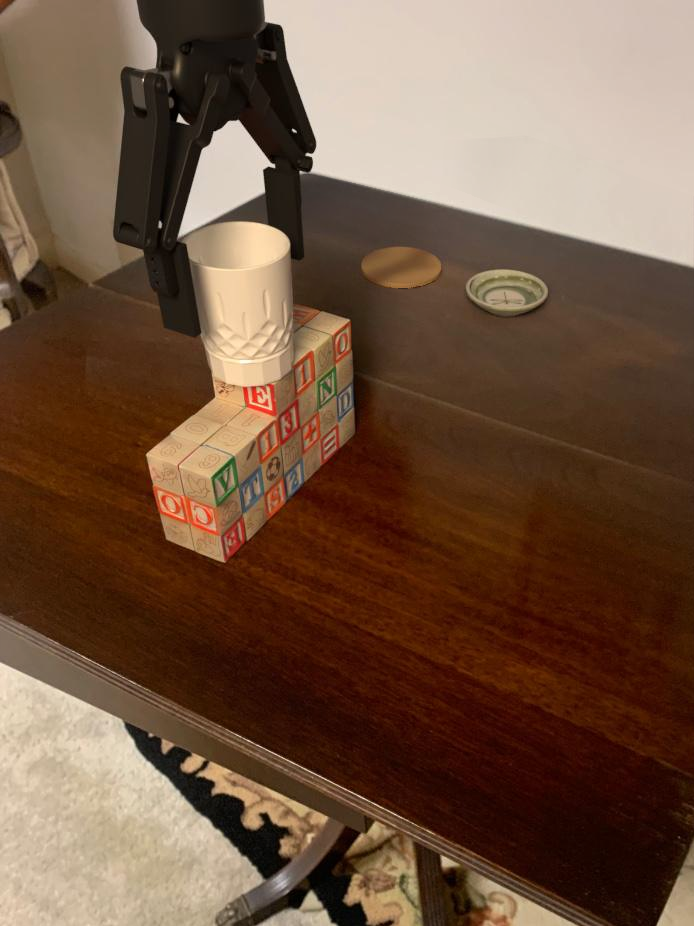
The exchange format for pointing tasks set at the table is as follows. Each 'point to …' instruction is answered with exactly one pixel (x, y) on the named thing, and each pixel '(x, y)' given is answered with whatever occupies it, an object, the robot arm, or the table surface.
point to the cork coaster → (401, 267)
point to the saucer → (506, 291)
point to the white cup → (243, 300)
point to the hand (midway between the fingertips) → (238, 290)
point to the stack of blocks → (256, 442)
